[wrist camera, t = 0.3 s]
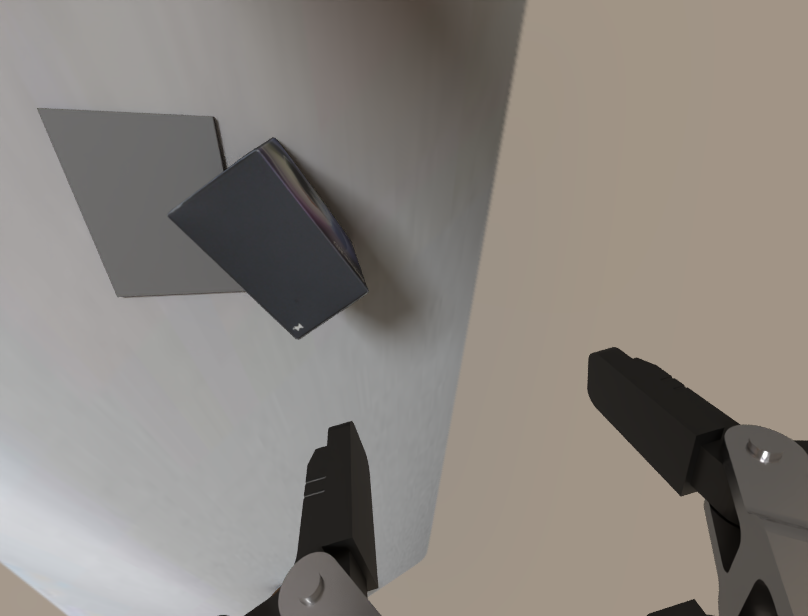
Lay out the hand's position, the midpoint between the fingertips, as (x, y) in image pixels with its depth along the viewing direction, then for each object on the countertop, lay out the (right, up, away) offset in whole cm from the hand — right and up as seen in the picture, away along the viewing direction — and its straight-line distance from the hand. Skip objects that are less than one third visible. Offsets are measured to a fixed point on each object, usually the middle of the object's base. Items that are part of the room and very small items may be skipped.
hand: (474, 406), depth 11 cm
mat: (-22, +11, +16) cm, 29 cm away
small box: (-12, +11, +18) cm, 24 cm away
